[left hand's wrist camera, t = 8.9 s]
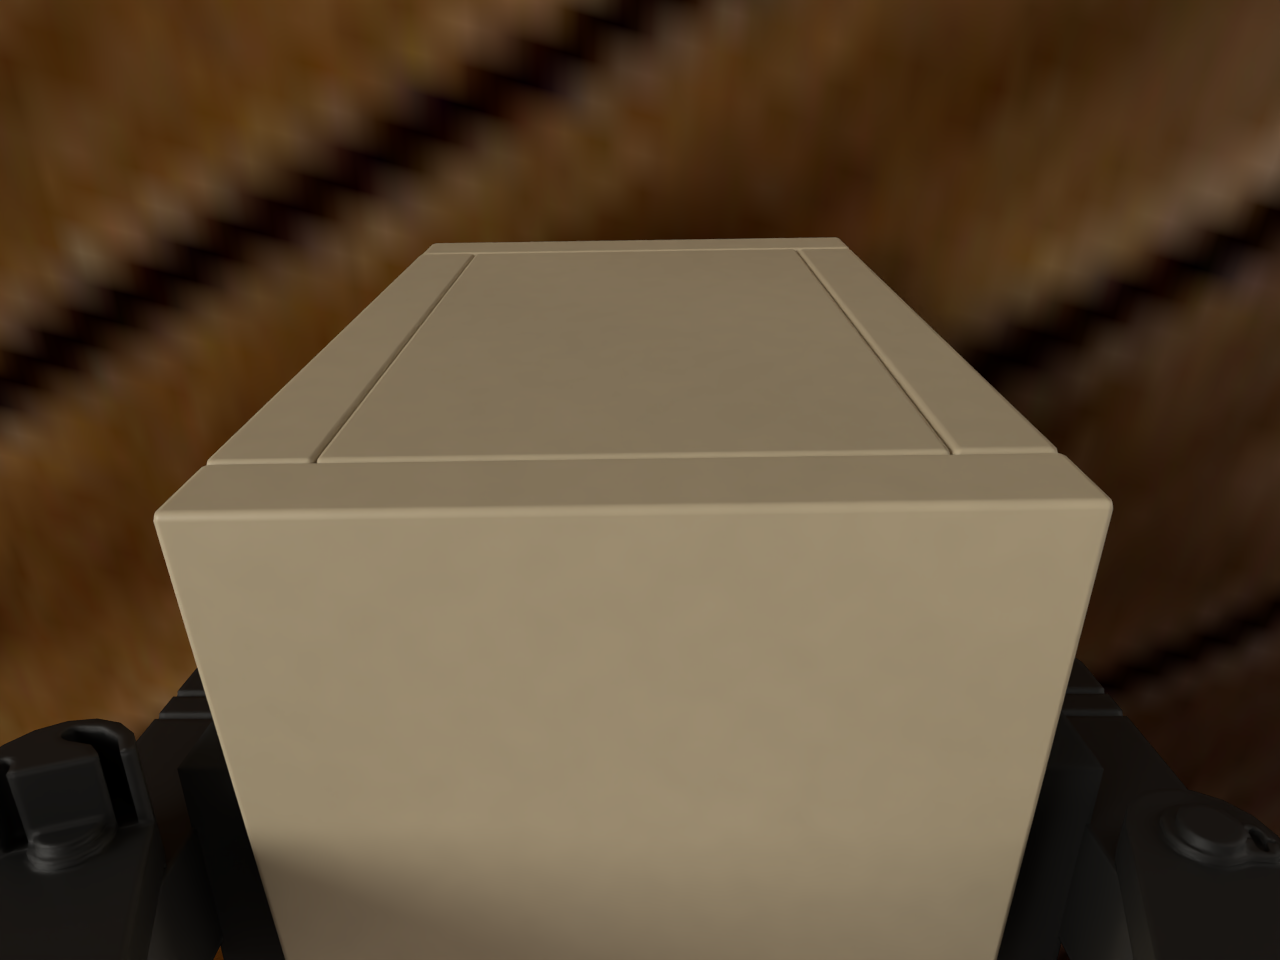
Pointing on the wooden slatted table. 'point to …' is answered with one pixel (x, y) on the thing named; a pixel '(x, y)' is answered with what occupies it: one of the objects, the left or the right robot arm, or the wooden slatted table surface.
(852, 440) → the cabinet
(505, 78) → the wooden slatted table surface
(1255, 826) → the left robot arm
